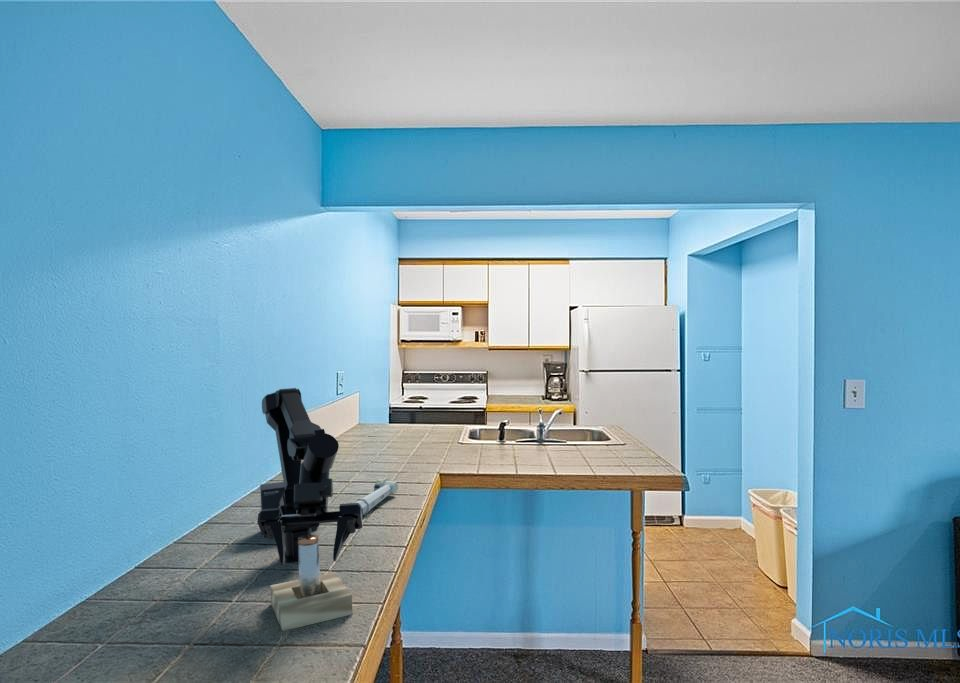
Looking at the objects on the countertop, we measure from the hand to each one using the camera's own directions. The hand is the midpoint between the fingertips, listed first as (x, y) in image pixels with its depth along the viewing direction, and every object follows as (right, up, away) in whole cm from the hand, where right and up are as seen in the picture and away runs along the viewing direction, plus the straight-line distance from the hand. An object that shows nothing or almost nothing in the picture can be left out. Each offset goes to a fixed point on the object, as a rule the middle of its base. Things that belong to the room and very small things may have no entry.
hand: (308, 562), depth 114 cm
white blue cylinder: (-2, -4, +66) cm, 67 cm away
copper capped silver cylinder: (0, -9, 0) cm, 9 cm away
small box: (-17, -8, +46) cm, 50 cm away
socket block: (0, -9, 0) cm, 9 cm away
